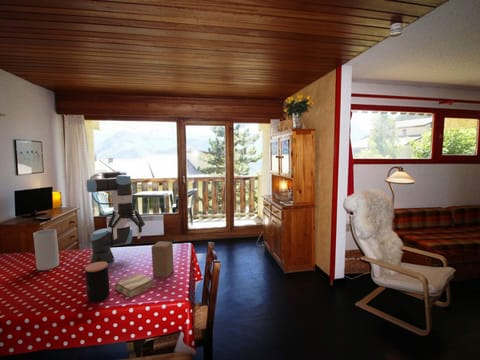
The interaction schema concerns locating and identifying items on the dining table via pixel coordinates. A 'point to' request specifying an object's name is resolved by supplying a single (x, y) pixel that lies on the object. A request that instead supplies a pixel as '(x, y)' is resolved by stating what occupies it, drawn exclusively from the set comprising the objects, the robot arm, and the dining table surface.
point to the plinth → (134, 285)
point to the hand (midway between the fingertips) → (127, 238)
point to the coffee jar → (97, 281)
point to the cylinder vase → (46, 249)
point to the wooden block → (162, 259)
